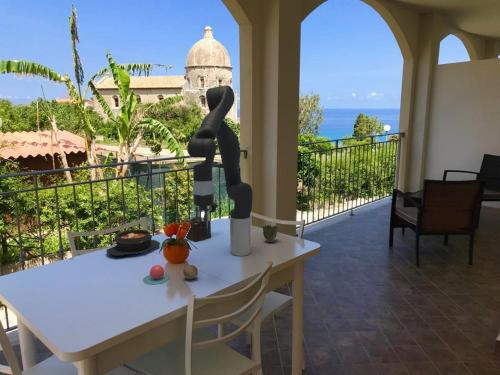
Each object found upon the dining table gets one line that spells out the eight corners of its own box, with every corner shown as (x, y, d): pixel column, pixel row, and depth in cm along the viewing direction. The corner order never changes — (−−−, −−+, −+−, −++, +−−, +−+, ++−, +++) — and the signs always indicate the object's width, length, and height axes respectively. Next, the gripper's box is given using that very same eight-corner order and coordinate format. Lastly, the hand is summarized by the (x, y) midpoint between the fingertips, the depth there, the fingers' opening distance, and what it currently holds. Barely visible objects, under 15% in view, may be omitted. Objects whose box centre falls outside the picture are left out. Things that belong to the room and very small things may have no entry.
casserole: (117, 263, 166) (115, 244, 164) (100, 252, 179) (98, 235, 178) (167, 249, 183) (167, 232, 181) (148, 240, 196) (148, 224, 195)
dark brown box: (195, 242, 193) (194, 207, 189) (183, 237, 200) (182, 204, 197) (220, 236, 203) (219, 202, 200) (207, 231, 211) (206, 199, 208)
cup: (279, 240, 195) (279, 225, 193) (274, 245, 188) (274, 229, 187) (265, 238, 198) (266, 223, 196) (260, 243, 191) (260, 227, 190)
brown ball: (200, 265, 152) (194, 277, 152) (187, 260, 151) (181, 273, 151) (199, 271, 146) (194, 283, 147) (186, 266, 145) (180, 278, 146)
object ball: (167, 265, 151) (162, 278, 152) (154, 260, 151) (149, 273, 152) (164, 271, 146) (159, 284, 147) (151, 266, 146) (146, 278, 146)
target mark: (146, 274, 154) (146, 273, 154) (171, 273, 154) (171, 273, 154) (140, 284, 144) (140, 284, 144) (167, 284, 144) (166, 283, 144)
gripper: (195, 189, 150) (196, 231, 153) (191, 195, 137) (192, 242, 140) (214, 188, 150) (215, 231, 153) (212, 195, 137) (213, 242, 140)
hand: (204, 236), depth 147 cm, fingers closed
